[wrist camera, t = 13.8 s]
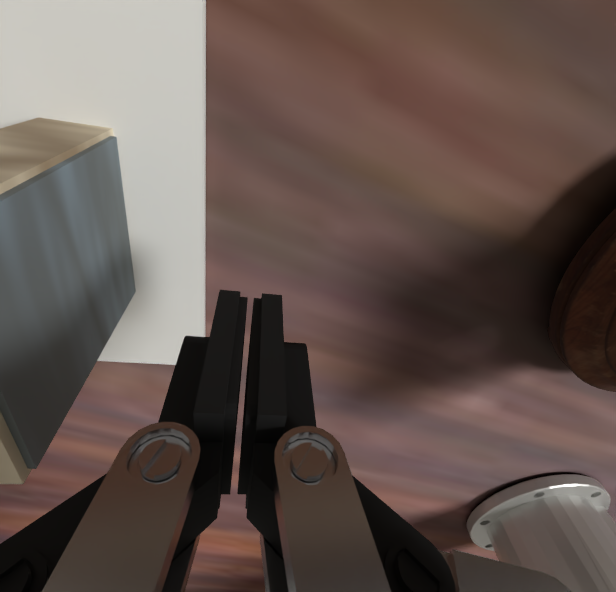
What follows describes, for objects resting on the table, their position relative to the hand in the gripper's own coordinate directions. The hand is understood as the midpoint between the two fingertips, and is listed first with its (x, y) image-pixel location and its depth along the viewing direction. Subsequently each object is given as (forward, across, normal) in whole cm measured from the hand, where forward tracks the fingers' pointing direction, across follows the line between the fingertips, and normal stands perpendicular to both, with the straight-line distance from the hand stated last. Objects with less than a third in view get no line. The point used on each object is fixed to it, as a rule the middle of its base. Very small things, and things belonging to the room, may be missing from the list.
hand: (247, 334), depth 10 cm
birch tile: (+7, +6, 0) cm, 9 cm away
